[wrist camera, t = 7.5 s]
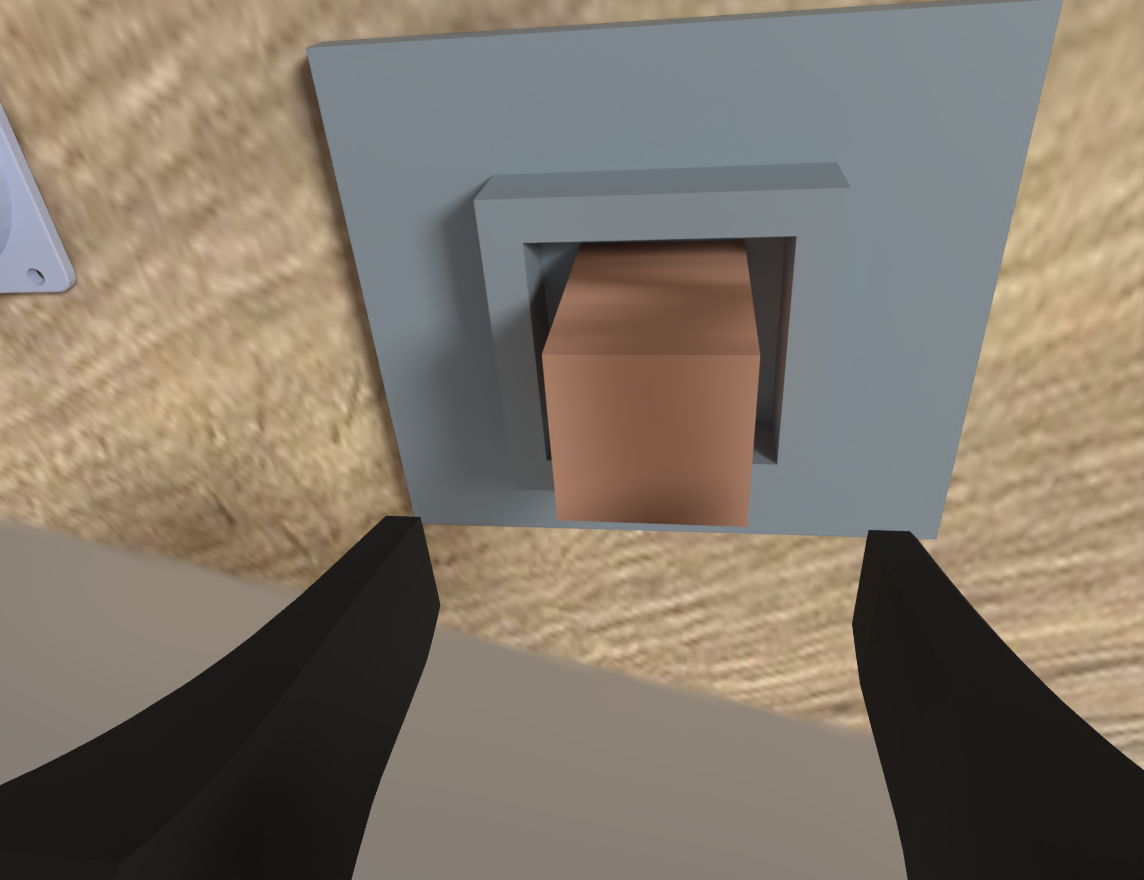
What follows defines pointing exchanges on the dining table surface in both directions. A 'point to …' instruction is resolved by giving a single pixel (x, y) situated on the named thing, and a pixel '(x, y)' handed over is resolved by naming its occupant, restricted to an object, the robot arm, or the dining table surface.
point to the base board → (692, 232)
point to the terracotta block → (654, 384)
